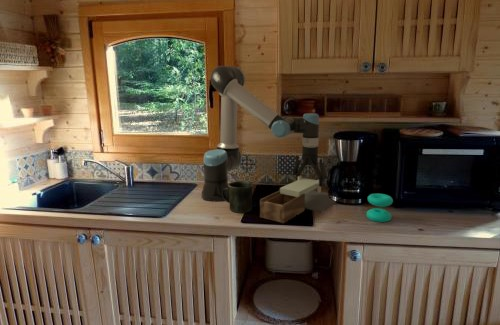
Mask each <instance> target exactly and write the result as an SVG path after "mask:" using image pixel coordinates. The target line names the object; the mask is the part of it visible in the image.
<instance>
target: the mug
mask: <svg viewBox="0 0 500 325" xmlns="http://www.w3.org/2000/svg"><path fill="white" fill-rule="evenodd" d="M228 186H229V187H227V188H224V189H223V190H222V196H223V199H224V200H223V201H225V202H226V203H228V204H229V210H230V211H231V212H233V213H237V214H244V213H249V212H251V211H252V210H253V187H254V184H253V182H251V181H250V182H249V181H245V180H244V181H243V180H241V181H232V182H231V181H230V183H229V182H228ZM224 190H229V199H227V198H226V197H225V194H224Z"/></svg>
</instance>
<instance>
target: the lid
mask: <svg viewBox="0 0 500 325" xmlns="http://www.w3.org/2000/svg"><path fill="white" fill-rule="evenodd" d="M317 180H318V179H311V178H308V177H307V178H306V177H302V179H299V180H297V181H296V180H295V181H293V182H290V183H288V184H285V185H284V186H281V187H279V190H280V193H281V194H286V195H290V196H295V197H298V196H300V195H302V194H306V193H308V192H310V191H312V190H314V191H315V190H317Z"/></svg>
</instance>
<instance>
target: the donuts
mask: <svg viewBox="0 0 500 325" xmlns="http://www.w3.org/2000/svg"><path fill="white" fill-rule="evenodd" d="M367 202H368V203H369V204H371V205H373V206H375V208H374V207H373V208H371V209H369V210H367V211H366V217H367V219H369V220H371V221H373V222H376V223H386V222H389V221H390V220H392V213H390V211H388V210H386V209H384V208H385V207H389V206H391V205H392V204H393V202H394V200H393V197H392V196H390V195H388V194H385V193H379V192H378V193H370V194H369V195H368V196H367ZM377 207H379V208H377ZM381 207H384V208H381Z"/></svg>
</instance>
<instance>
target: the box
mask: <svg viewBox="0 0 500 325" xmlns="http://www.w3.org/2000/svg"><path fill="white" fill-rule="evenodd" d="M305 210H306V209H305V194H302V195H300V196H298V197H295V196H290V195H286V194H281V193H280V189H279V190H278V191H275V192H273V193H271V194H269V195H267V196H264V197H262V198H260V199H259V218H263V219H266V220H270V221H272V222H277V223H281V224H285V223H287V222H289V221H290V220H292V219H293V218H295V217H297V216H298V215H300V214H302V213H304V212H305ZM296 215H297V216H296ZM288 220H289V221H288Z"/></svg>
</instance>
